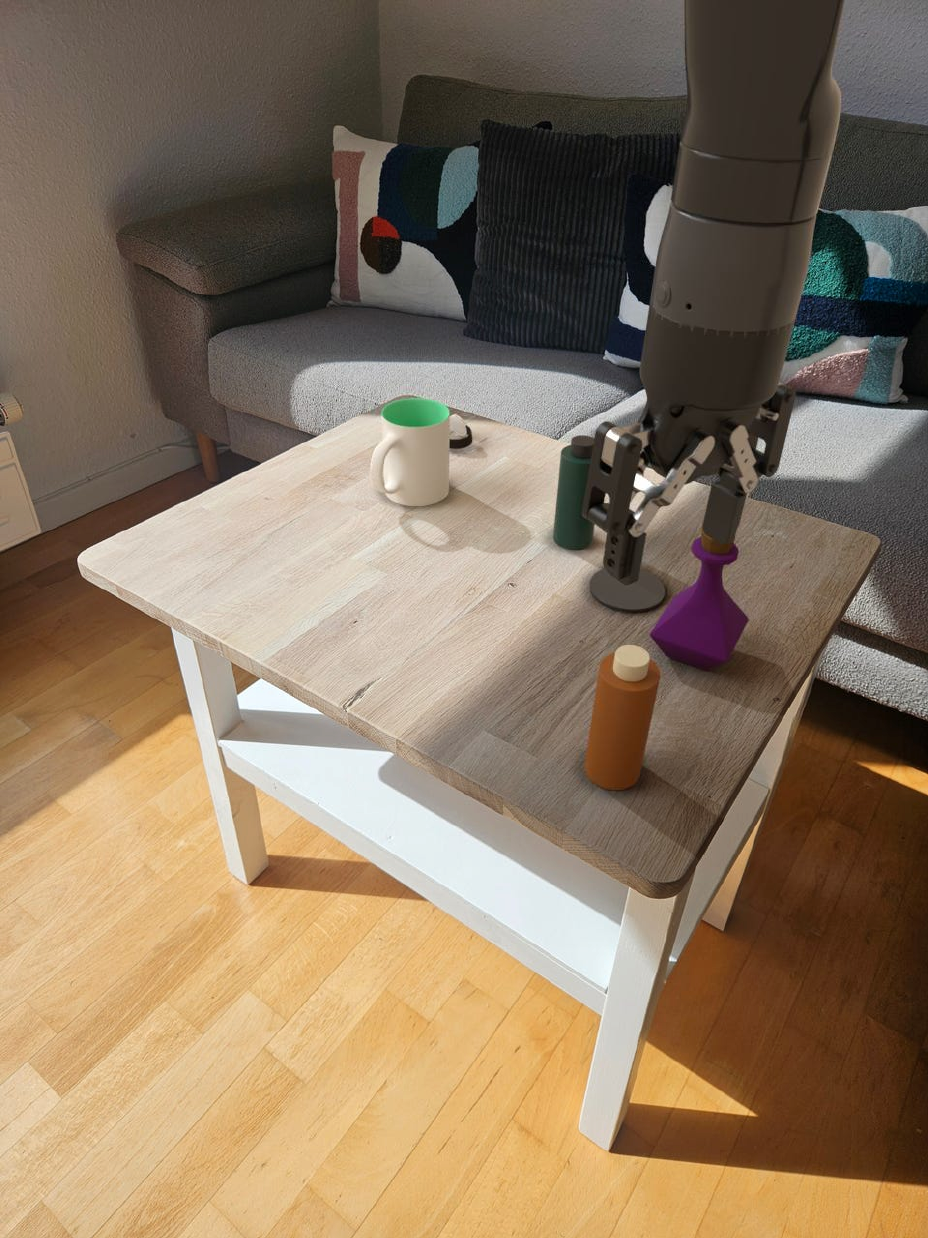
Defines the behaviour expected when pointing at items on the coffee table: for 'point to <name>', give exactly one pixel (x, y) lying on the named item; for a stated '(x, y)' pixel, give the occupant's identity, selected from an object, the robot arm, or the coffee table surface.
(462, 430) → the watch
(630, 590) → the slate coaster
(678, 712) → the coffee table surface
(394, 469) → the mug
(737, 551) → the perfume bottle
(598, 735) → the amber bottle
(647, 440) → the robot arm
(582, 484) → the green bottle
